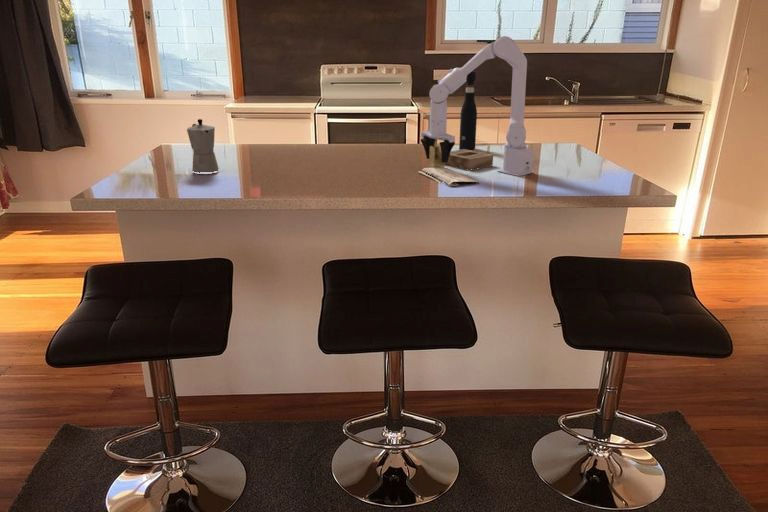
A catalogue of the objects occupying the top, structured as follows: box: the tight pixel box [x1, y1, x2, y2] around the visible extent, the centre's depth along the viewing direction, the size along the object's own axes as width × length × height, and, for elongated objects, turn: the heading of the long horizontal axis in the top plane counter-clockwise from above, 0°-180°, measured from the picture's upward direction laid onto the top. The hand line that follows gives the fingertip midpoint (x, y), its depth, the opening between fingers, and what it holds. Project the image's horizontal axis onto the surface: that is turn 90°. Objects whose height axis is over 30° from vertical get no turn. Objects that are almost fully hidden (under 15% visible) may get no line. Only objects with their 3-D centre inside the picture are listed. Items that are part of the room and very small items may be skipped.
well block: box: [444, 149, 494, 171], centre depth 212 cm, size 14×12×4 cm
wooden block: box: [428, 144, 446, 168], centre depth 206 cm, size 2×5×8 cm, turn 130°
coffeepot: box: [186, 118, 220, 173], centre depth 201 cm, size 15×9×18 cm, turn 33°
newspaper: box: [418, 167, 480, 187], centre depth 194 cm, size 23×12×2 cm, turn 20°
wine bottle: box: [458, 71, 478, 151], centre depth 235 cm, size 6×6×30 cm
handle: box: [424, 112, 438, 145], centre depth 231 cm, size 5×6×15 cm
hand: (437, 160), depth 206 cm, fingers open, 7 cm apart
